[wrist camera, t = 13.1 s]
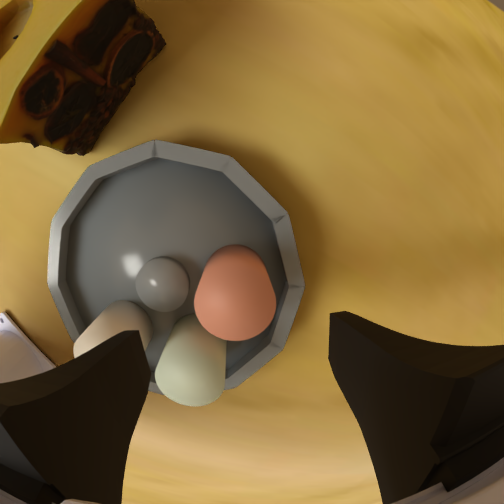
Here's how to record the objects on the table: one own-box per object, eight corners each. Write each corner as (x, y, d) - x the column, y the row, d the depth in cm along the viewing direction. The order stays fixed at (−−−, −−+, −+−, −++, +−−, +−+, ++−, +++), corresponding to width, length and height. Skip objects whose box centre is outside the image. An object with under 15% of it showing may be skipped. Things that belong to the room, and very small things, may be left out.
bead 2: (278, 280, 19) (291, 311, 14) (229, 314, 20) (228, 353, 15) (241, 231, 18) (243, 248, 14) (191, 268, 19) (177, 297, 14)
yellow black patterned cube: (169, 44, 16) (128, -39, 6) (89, 160, 18) (-6, 151, 8) (82, 10, 14) (25, -46, 5) (16, 109, 16) (-66, 91, 6)
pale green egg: (201, 370, 21) (194, 415, 16) (160, 337, 20) (141, 378, 15) (238, 338, 20) (239, 382, 15) (195, 302, 19) (183, 339, 14)
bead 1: (102, 340, 20) (75, 376, 15) (104, 293, 19) (71, 324, 14) (150, 354, 20) (132, 396, 15) (155, 308, 19) (134, 344, 14)
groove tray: (185, 409, 23) (182, 426, 20) (33, 274, 19) (18, 282, 17) (342, 274, 20) (353, 284, 18) (165, 97, 17) (157, 88, 15)
